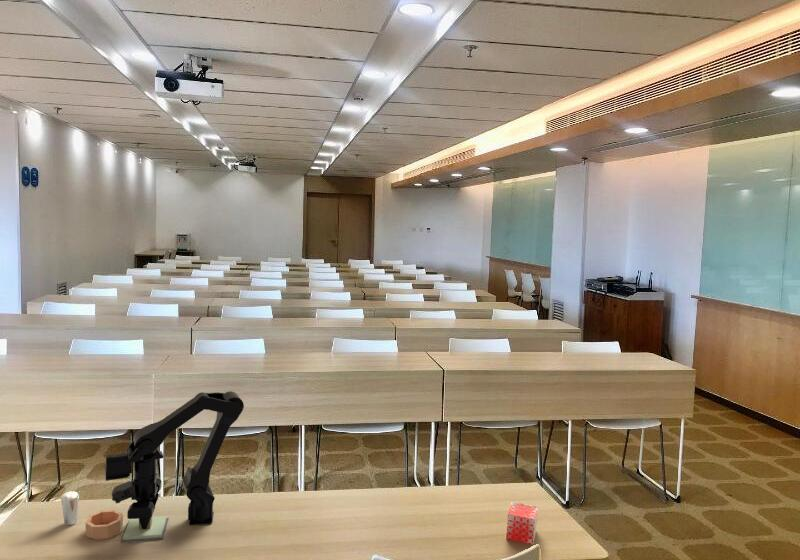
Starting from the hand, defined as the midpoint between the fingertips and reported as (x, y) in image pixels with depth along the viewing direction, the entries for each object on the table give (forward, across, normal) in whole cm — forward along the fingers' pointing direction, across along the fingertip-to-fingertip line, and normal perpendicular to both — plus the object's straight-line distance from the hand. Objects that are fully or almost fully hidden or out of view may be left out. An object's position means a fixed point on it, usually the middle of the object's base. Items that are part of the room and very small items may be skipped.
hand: (145, 525), depth 174 cm
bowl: (+1, -1, -11) cm, 11 cm away
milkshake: (+2, -7, -21) cm, 22 cm away
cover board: (+1, 0, 0) cm, 1 cm away
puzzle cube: (+2, +18, +108) cm, 110 cm away
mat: (+1, 0, 0) cm, 1 cm away
